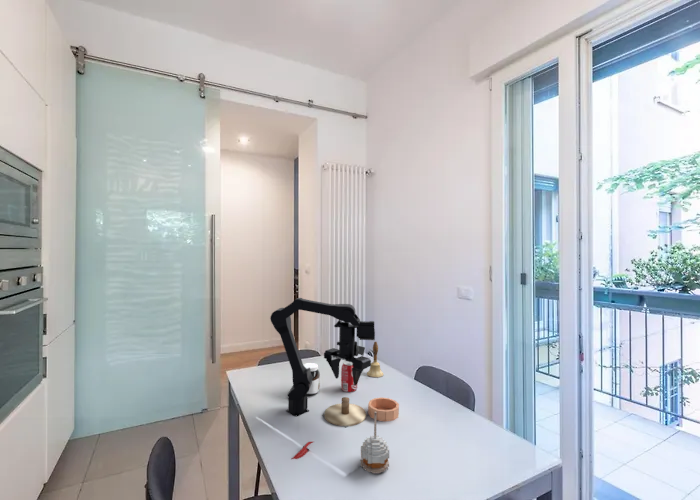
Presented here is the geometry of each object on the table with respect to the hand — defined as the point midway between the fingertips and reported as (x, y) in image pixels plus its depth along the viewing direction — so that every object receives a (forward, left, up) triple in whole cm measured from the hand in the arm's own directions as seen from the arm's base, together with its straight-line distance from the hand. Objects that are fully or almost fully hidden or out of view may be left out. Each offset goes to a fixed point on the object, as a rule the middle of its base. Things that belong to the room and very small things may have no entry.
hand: (346, 381), depth 122 cm
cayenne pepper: (-24, -7, -13) cm, 28 cm away
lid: (-1, -1, -12) cm, 12 cm away
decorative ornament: (-15, -26, -12) cm, 33 cm away
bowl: (+10, -10, -12) cm, 18 cm away
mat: (-1, -1, -12) cm, 12 cm away
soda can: (+17, +14, -12) cm, 25 cm away
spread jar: (+3, +26, -12) cm, 29 cm away
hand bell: (+40, +18, -12) cm, 45 cm away
